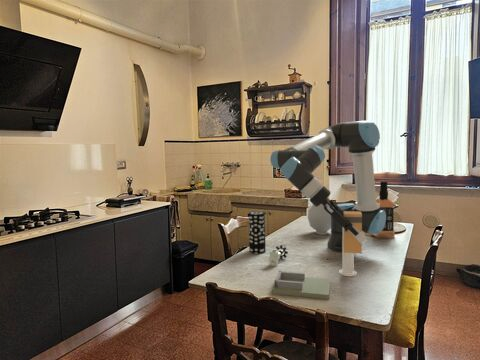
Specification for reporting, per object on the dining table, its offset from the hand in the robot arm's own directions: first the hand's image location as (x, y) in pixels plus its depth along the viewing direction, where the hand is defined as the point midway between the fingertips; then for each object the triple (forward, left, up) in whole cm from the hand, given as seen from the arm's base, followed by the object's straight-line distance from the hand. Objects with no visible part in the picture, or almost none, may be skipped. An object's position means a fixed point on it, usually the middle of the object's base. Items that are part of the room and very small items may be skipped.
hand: (363, 238), depth 123 cm
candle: (-5, -18, -20) cm, 28 cm away
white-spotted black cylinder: (+22, -59, -20) cm, 66 cm away
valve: (+18, -41, -21) cm, 49 cm away
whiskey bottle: (-55, -64, -20) cm, 87 cm away
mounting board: (+19, -10, -20) cm, 30 cm away
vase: (-25, -81, -20) cm, 88 cm away
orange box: (+3, -2, -5) cm, 6 cm away
